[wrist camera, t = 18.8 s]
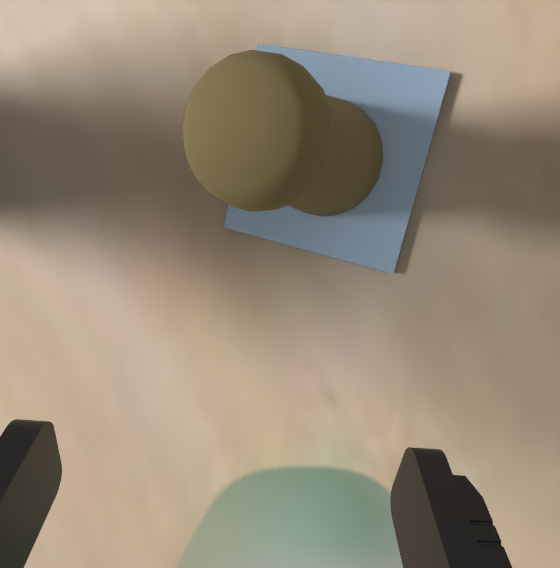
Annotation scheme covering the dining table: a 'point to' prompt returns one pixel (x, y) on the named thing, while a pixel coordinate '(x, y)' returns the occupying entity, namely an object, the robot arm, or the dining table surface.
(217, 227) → the dining table surface
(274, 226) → the pad
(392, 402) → the dining table surface
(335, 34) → the dining table surface
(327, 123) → the cork
